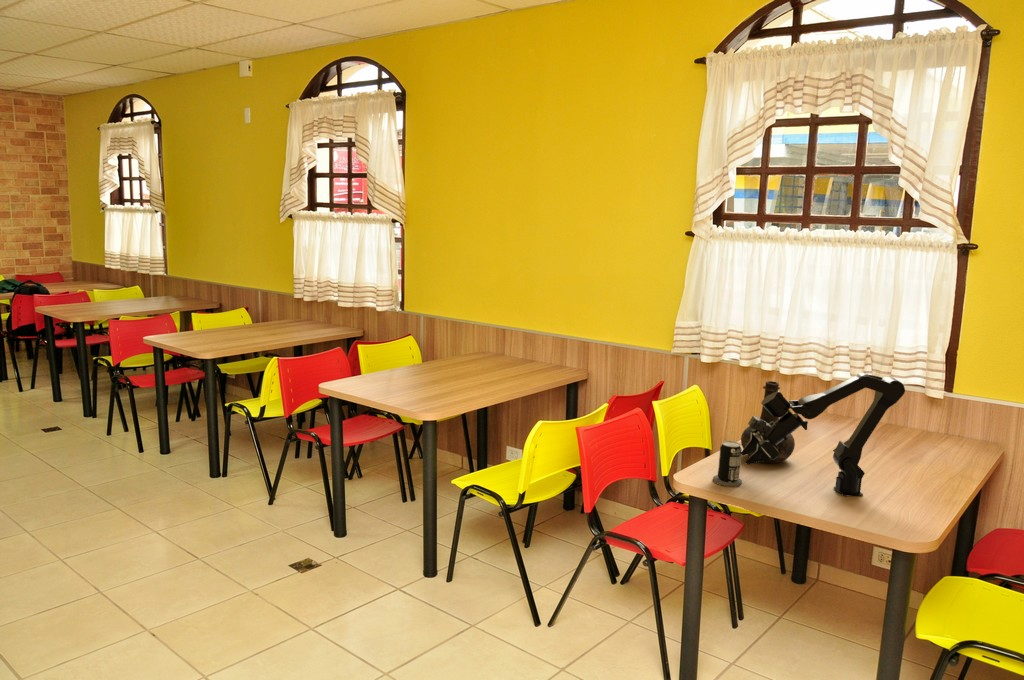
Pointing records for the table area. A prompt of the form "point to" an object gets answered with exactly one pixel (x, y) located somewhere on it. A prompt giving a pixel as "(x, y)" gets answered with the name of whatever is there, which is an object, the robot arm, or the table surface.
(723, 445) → the beverage can
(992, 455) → the table surface
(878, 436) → the table surface
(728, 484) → the coaster
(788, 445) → the brown vase
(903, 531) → the table surface
